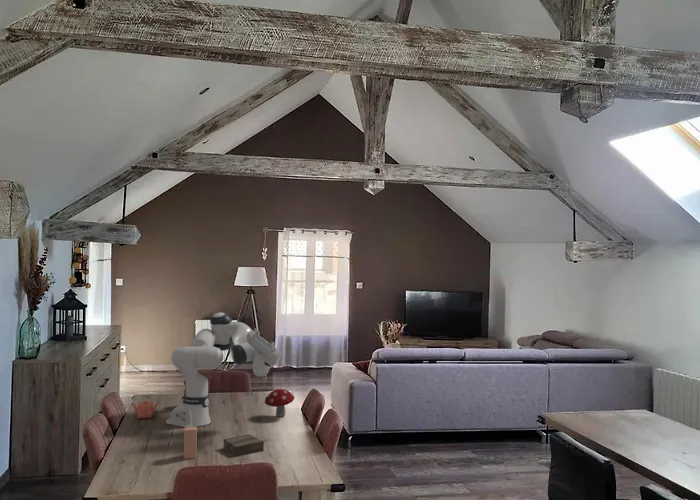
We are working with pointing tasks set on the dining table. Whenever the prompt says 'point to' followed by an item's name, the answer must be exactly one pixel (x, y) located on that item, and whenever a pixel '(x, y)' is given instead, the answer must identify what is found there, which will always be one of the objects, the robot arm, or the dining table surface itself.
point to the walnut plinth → (243, 445)
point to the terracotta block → (190, 442)
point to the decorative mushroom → (279, 400)
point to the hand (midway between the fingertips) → (264, 337)
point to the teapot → (145, 409)
